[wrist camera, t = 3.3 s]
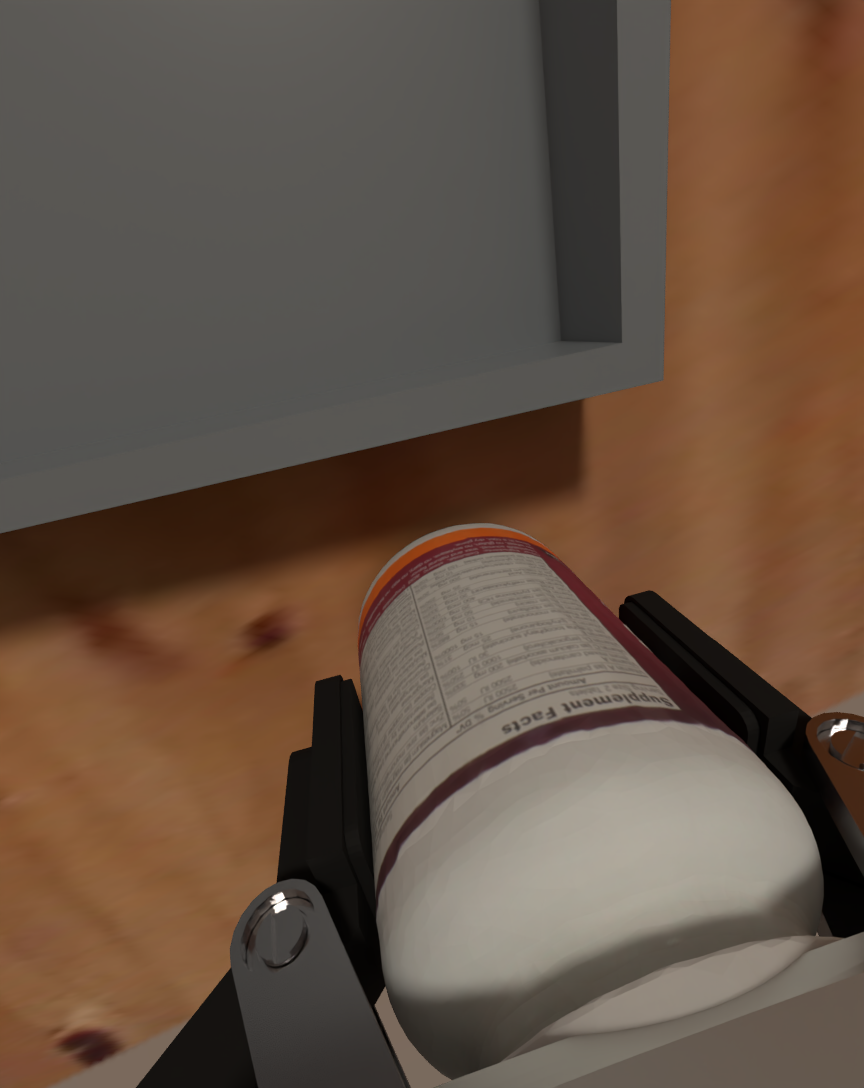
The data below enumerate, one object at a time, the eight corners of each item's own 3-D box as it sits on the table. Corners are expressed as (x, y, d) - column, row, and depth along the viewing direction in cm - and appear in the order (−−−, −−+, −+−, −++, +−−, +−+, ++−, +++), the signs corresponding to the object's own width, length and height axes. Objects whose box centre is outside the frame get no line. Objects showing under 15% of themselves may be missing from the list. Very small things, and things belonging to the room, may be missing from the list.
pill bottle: (575, 664, 15) (1050, 1317, 5) (389, 726, 15) (509, 1566, 5) (549, 486, 13) (1420, 1101, 3) (323, 554, 12) (277, 1614, 2)
